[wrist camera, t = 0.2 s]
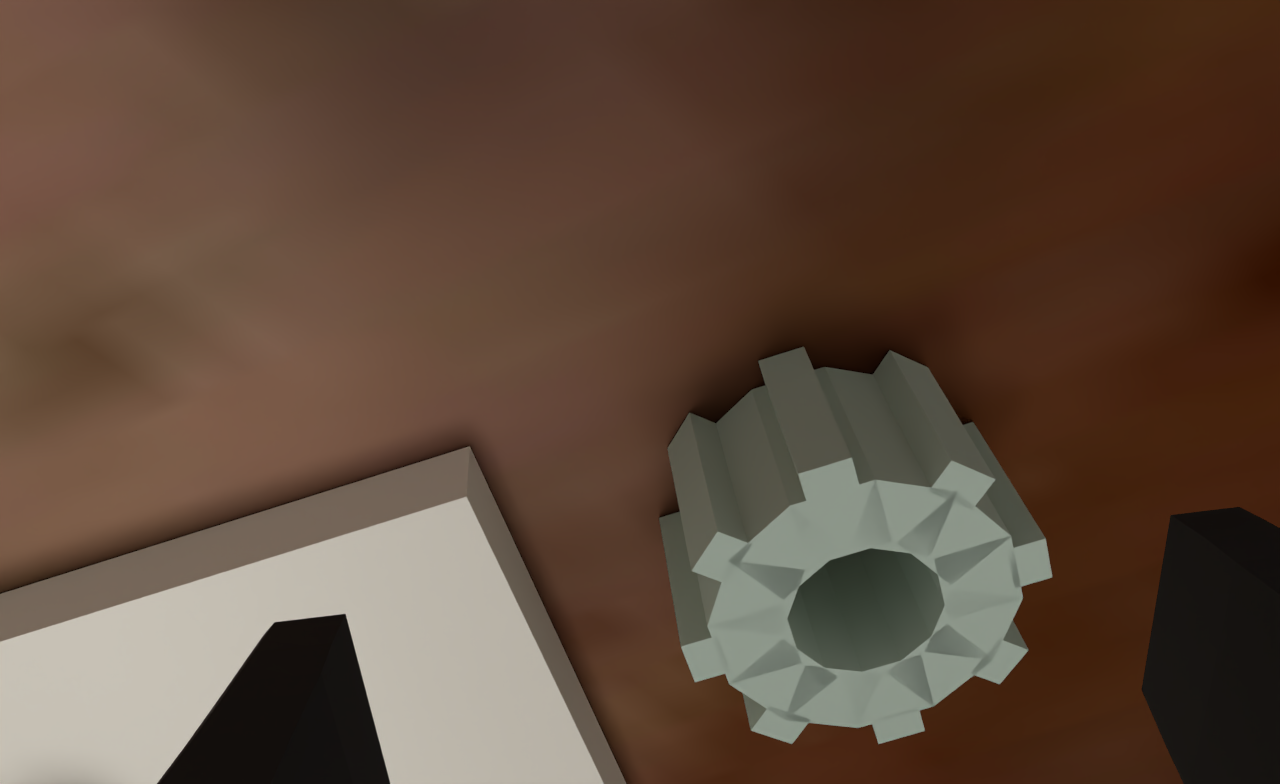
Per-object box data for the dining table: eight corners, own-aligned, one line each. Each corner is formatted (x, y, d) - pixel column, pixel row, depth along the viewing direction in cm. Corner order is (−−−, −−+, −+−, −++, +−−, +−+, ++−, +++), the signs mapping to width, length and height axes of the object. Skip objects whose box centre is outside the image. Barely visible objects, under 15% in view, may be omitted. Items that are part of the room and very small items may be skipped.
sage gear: (1000, 561, 23) (1071, 688, 20) (708, 647, 23) (735, 784, 20) (949, 301, 20) (1022, 405, 17) (616, 405, 21) (632, 524, 18)
